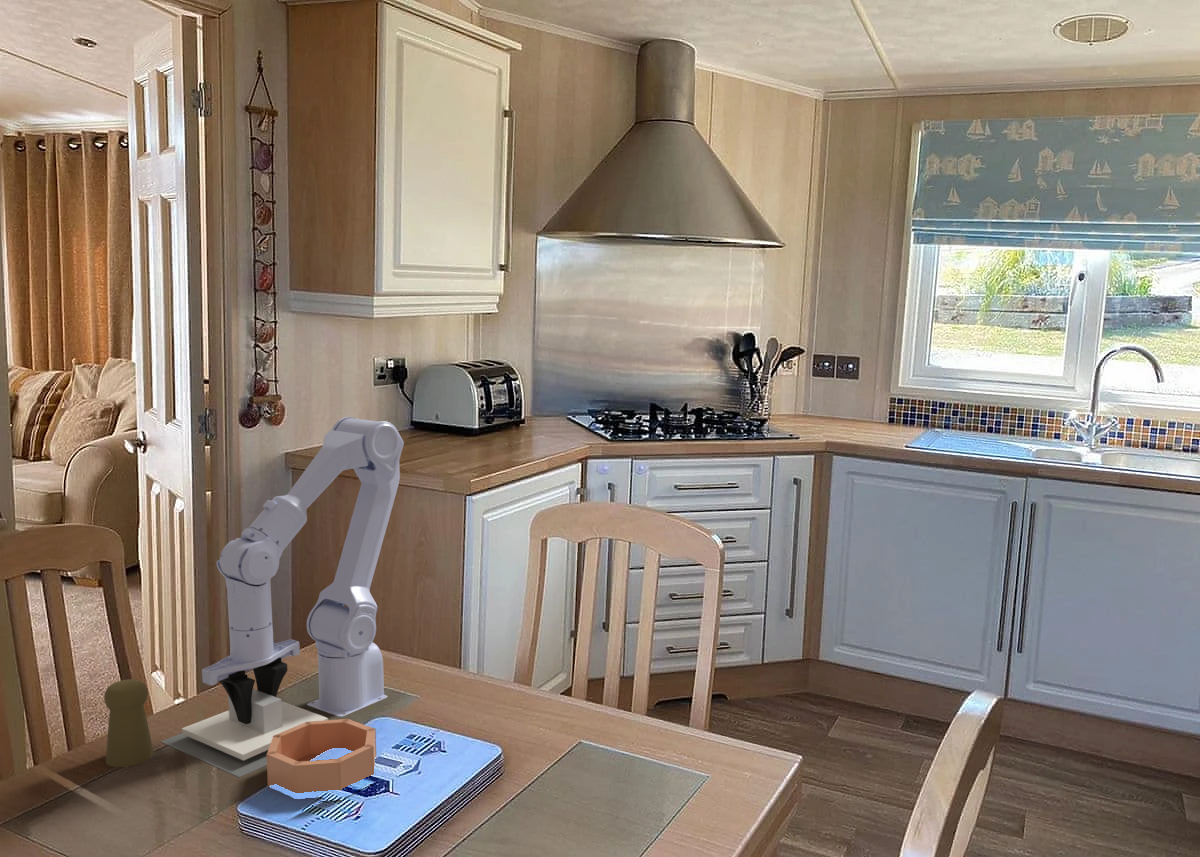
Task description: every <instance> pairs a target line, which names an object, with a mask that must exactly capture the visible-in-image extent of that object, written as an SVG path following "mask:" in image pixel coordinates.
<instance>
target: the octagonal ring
mask: <svg viewBox="0 0 1200 857" xmlns="http://www.w3.org/2000/svg"><path fill="white" fill-rule="evenodd" d="M376 730H377V729H376V728H374V727H371V726H369V725H365V724H363V723H361V722H357V721H354V720H352V719H349V718H341V719H338V718H337V719H328V720H324V721H309V722H308V721H307V722H305V723H302V724H300V725H298V726H295V727H293V728H291V729H288V730H286V731H284V732H281V733H279V734H276V735H273V738H272V741H271V744H270V747H269V750H268V753H267V754H266V756H267V765H266V772H267V773H266V774H267V775H266V776H267V787H268V786H270V785H274V784H277V785H279V786H281V787H284V788H285V789H288V790H290V791H292V792H295V793H304V792H312V791H314V792H316V791H328V790H342V789H343V788H345V787H347V786H348V785H351V784H353V783H356V782H358V781H360V780H362V779H364V778H366V777H369V776H371V775H373V774H374V766H375V767H376V765H375V757H376V758H377V736H376V735H377V732H376ZM332 748H346V749H348V750H351V751H353V752H351V753H348V754H346V755H344V756H342V757H340V758H338V759H329V760H316V761H310V760H311V759H313V758H315V757H316V756H317V755H320V754H321V753H323V752H325V751H327V750H329V749H332Z"/></svg>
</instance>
